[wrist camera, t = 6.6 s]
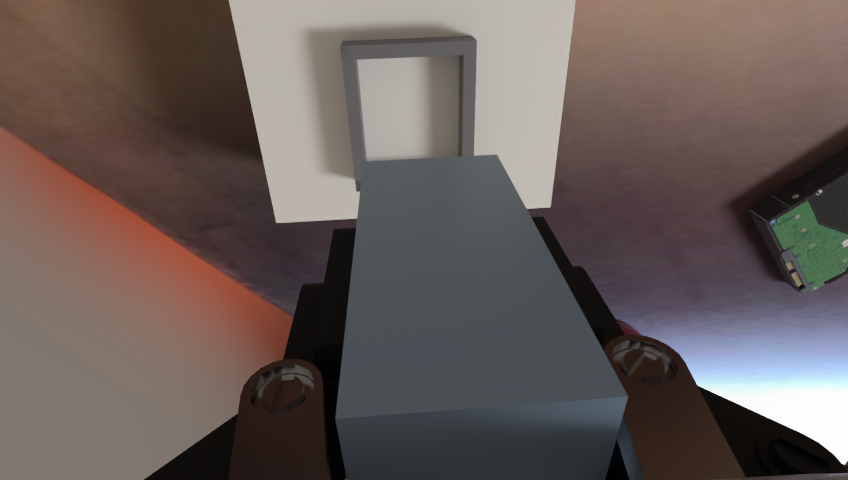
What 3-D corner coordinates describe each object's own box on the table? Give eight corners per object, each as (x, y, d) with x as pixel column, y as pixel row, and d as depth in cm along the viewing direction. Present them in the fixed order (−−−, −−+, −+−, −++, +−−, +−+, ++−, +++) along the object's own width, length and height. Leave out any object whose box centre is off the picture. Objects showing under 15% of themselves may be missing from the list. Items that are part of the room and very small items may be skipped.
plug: (363, 161, 12) (335, 418, 6) (497, 154, 13) (628, 396, 6) (377, 298, 15) (370, 598, 8) (489, 291, 15) (577, 579, 8)
